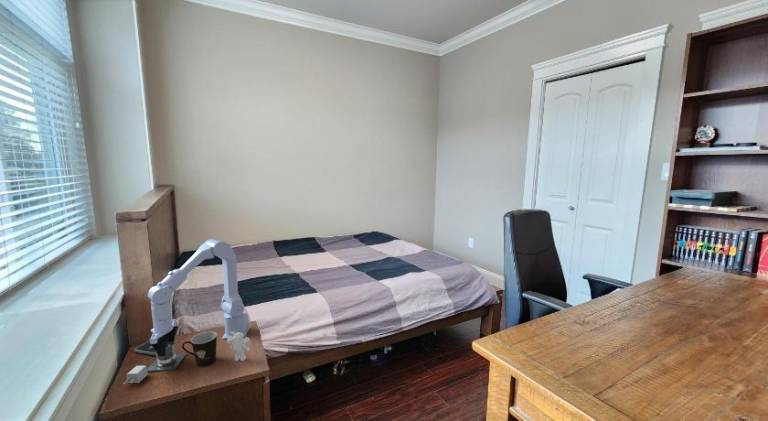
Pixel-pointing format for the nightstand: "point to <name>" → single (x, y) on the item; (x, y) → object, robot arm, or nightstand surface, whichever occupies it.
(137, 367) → the usb wall charger
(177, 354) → the silver sculpture on base
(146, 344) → the external hard drive
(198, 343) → the coffee mug
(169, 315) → the robot arm
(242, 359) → the hat wearing toy figure
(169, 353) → the ring
